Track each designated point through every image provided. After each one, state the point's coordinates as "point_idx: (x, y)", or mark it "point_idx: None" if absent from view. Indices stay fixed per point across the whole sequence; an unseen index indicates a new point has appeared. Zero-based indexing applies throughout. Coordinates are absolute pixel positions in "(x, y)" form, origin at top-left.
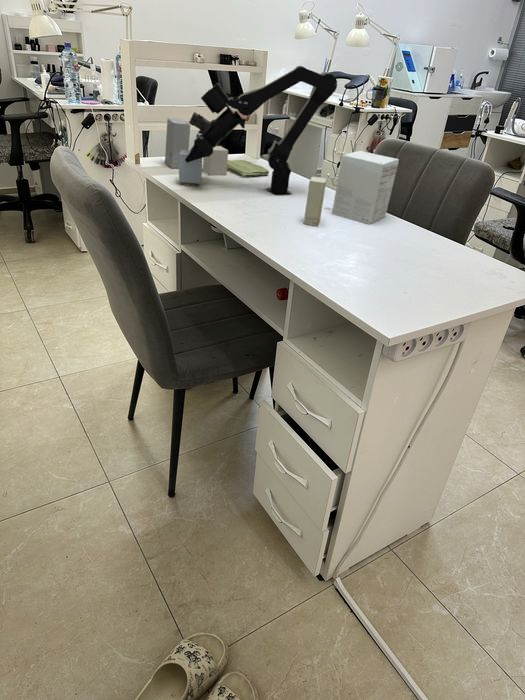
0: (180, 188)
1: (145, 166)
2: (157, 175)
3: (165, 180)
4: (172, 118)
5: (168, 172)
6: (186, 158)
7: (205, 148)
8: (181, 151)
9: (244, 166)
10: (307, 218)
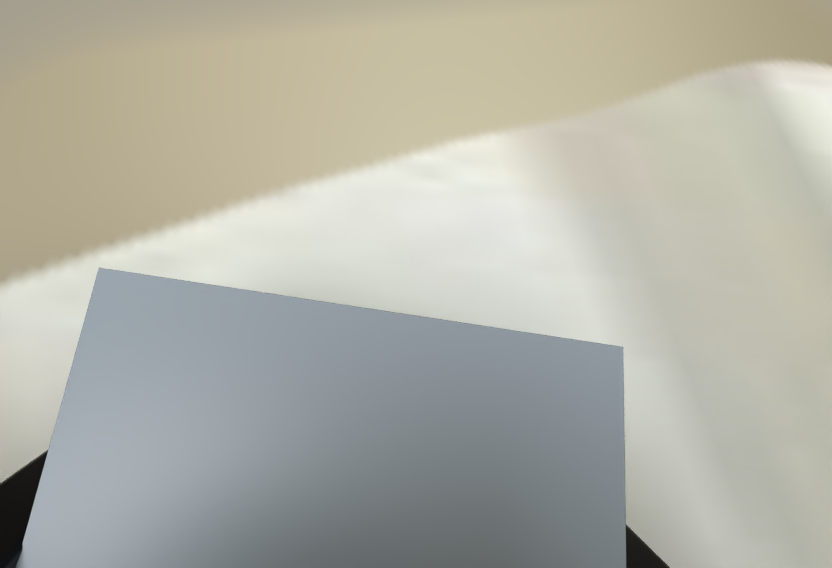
0: (43, 392)
1: (802, 100)
2: (548, 174)
3: (380, 237)
4: None
5: (697, 284)
6: (22, 478)
7: None
8: (447, 345)
9: None
10: None
